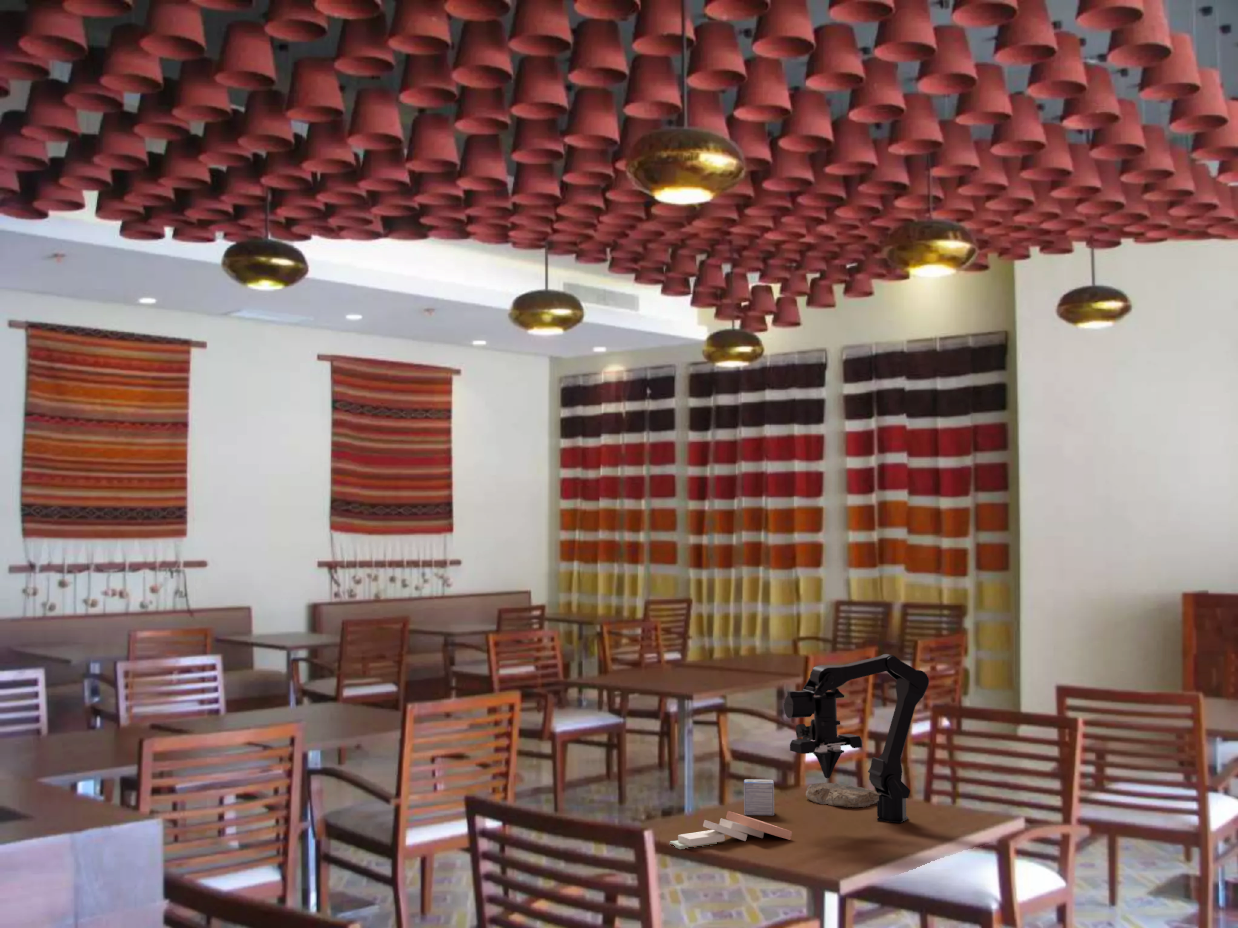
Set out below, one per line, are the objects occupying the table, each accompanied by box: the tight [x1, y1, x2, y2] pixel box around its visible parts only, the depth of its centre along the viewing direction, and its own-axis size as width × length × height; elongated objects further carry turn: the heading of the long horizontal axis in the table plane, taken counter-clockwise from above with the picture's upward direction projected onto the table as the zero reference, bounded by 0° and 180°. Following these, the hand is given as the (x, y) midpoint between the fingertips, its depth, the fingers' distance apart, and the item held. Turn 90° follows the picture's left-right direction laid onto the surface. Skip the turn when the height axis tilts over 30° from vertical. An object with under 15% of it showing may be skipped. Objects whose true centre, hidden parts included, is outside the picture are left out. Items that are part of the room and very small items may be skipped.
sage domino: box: [669, 839, 718, 850], centre depth 298 cm, size 2×5×10 cm
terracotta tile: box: [725, 810, 793, 841], centre depth 306 cm, size 2×14×10 cm
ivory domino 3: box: [718, 817, 765, 839], centre depth 304 cm, size 2×5×10 cm
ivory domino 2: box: [702, 819, 748, 842], centre depth 300 cm, size 2×5×10 cm
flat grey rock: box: [805, 782, 880, 808], centre depth 346 cm, size 14×5×20 cm
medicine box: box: [743, 778, 775, 816], centre depth 331 cm, size 8×4×9 cm, turn 84°
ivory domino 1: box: [677, 829, 726, 846], centre depth 298 cm, size 2×5×10 cm
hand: (827, 777), depth 318 cm, fingers closed
